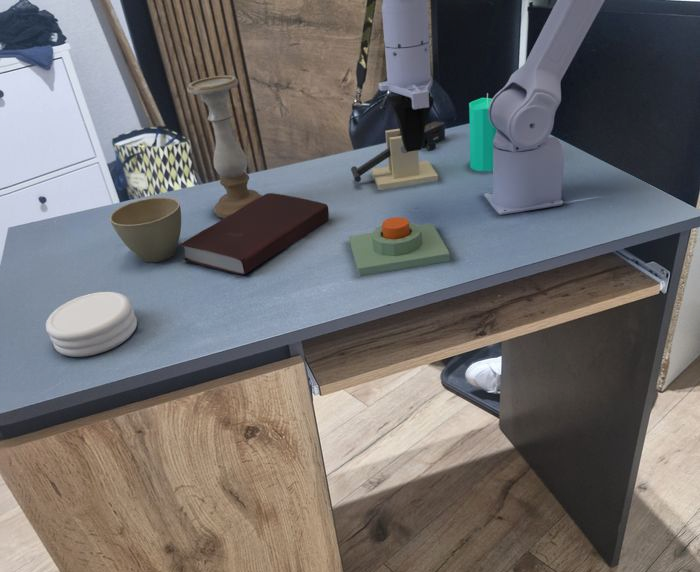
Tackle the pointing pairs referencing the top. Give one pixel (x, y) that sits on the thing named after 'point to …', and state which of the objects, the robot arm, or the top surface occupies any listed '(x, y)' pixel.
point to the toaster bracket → (402, 166)
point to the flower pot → (149, 227)
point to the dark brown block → (433, 134)
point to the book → (255, 233)
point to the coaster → (91, 324)
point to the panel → (398, 250)
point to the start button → (395, 228)
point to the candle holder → (225, 144)
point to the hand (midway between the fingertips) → (413, 149)
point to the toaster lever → (370, 164)
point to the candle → (481, 135)
